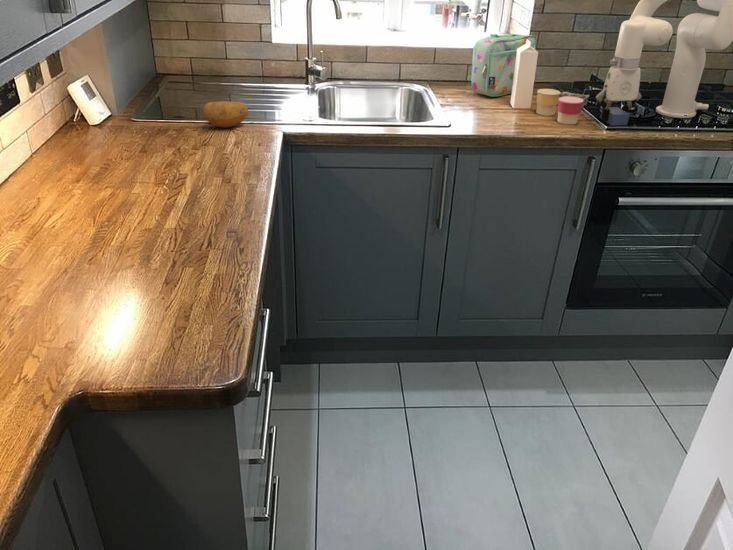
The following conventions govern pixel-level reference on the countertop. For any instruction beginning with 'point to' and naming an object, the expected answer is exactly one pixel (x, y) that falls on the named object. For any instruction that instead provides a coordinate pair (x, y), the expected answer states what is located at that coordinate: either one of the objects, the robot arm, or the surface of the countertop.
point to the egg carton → (575, 96)
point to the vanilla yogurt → (547, 101)
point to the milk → (524, 76)
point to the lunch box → (496, 63)
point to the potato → (225, 113)
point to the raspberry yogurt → (569, 109)
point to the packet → (617, 116)
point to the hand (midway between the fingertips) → (613, 119)
